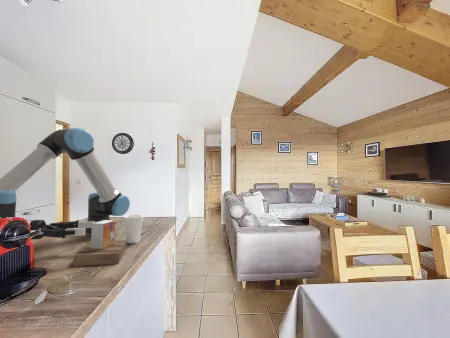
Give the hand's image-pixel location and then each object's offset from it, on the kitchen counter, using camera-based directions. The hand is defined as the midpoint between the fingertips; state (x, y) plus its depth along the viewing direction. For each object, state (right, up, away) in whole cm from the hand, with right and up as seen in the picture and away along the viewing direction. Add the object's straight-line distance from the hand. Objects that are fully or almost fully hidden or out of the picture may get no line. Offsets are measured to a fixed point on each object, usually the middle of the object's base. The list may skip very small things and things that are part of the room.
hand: (90, 227), depth 103 cm
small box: (+5, -8, +1) cm, 10 cm away
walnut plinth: (+5, -12, +1) cm, 13 cm away
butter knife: (+1, -12, -25) cm, 27 cm away
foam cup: (+9, -13, +24) cm, 29 cm away
